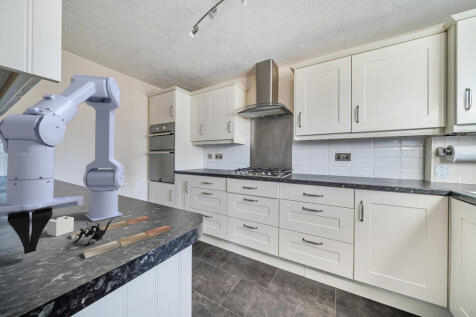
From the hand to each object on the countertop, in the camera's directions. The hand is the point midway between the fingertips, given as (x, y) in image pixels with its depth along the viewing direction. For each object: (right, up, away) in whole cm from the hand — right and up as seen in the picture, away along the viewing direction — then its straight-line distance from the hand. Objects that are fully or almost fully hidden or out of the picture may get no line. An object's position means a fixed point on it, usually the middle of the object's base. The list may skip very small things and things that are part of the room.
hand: (29, 250), depth 33 cm
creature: (+5, -2, +7) cm, 9 cm away
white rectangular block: (-6, -2, +12) cm, 13 cm away
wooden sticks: (+9, -2, +12) cm, 16 cm away
